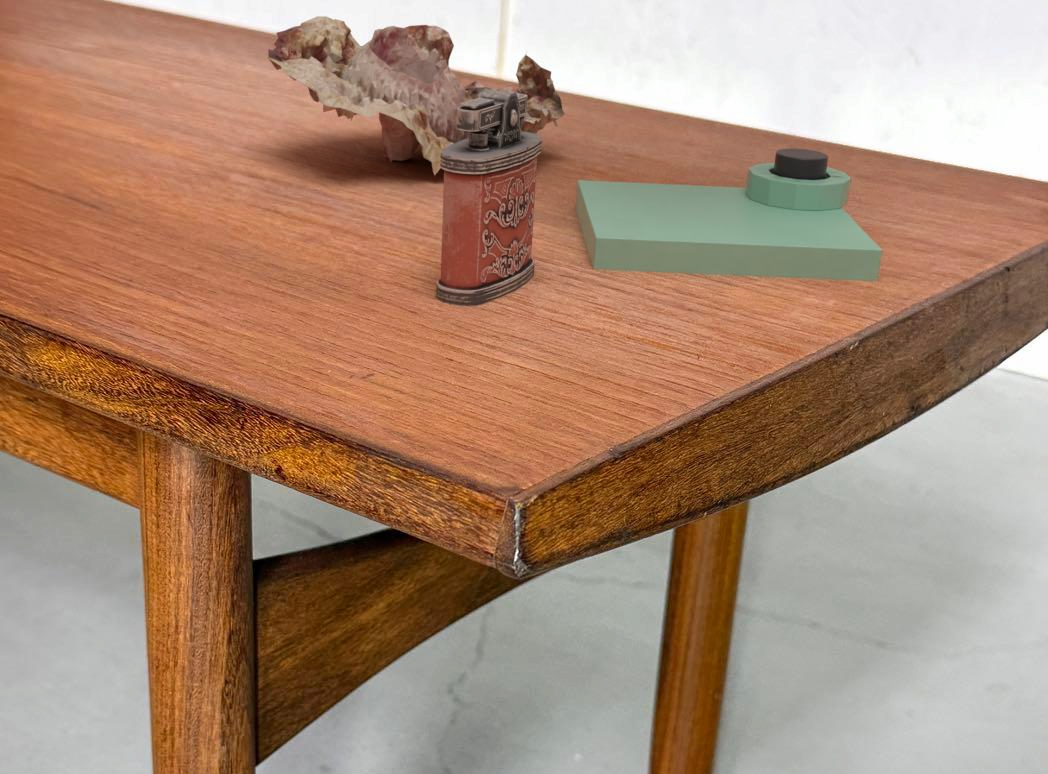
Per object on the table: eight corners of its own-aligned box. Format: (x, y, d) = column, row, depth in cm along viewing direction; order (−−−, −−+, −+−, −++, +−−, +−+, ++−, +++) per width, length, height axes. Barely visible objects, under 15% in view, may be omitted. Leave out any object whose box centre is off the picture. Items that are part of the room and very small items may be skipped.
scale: (828, 218, 96) (836, 164, 95) (887, 283, 83) (897, 221, 82) (574, 207, 95) (578, 152, 94) (593, 271, 82) (598, 208, 81)
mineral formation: (291, 176, 94) (355, 35, 89) (220, 62, 104) (274, -70, 100) (564, 255, 108) (632, 136, 103) (477, 147, 118) (535, 35, 113)
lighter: (491, 264, 82) (500, 78, 78) (547, 274, 81) (559, 86, 77) (421, 300, 76) (426, 99, 71) (480, 311, 75) (489, 108, 70)
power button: (818, 174, 94) (822, 149, 93) (829, 185, 91) (833, 160, 90) (768, 172, 93) (771, 147, 93) (778, 183, 91) (781, 158, 90)
